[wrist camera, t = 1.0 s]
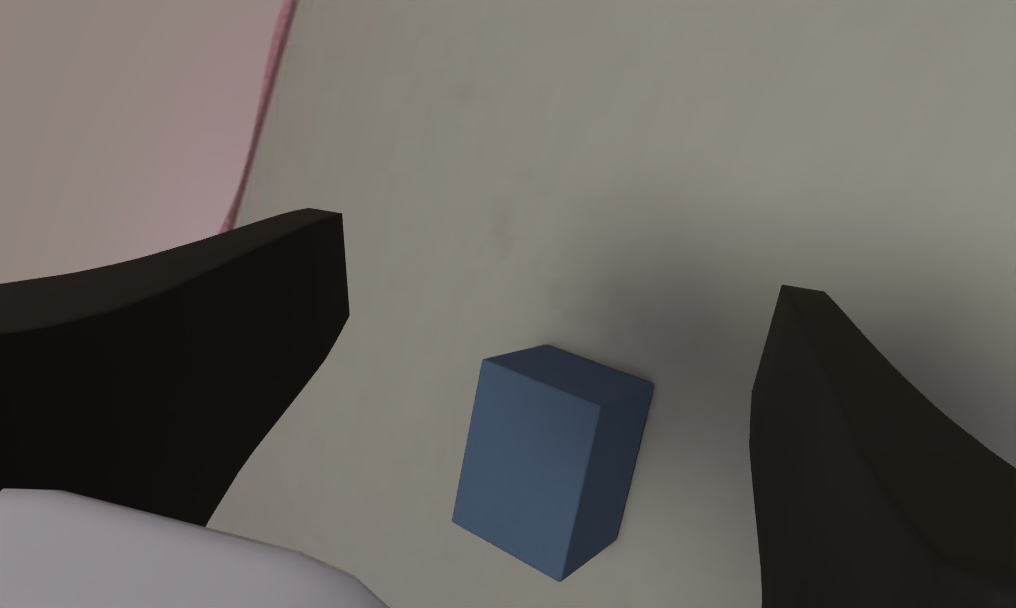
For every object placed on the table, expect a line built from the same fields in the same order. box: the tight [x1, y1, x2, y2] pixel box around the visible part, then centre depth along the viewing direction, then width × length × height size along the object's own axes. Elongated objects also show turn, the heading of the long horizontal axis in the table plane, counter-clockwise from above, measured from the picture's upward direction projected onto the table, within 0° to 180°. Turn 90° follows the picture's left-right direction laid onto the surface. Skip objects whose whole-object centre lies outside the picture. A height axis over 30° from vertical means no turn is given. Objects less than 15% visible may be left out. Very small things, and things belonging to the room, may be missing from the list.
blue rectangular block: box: [452, 345, 654, 582], centre depth 26 cm, size 6×4×4 cm
